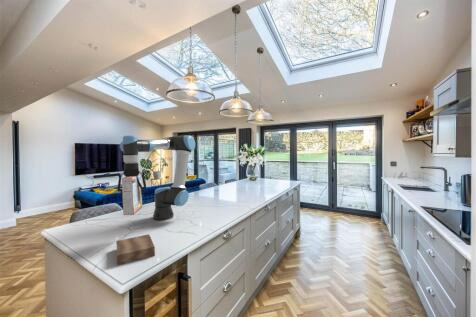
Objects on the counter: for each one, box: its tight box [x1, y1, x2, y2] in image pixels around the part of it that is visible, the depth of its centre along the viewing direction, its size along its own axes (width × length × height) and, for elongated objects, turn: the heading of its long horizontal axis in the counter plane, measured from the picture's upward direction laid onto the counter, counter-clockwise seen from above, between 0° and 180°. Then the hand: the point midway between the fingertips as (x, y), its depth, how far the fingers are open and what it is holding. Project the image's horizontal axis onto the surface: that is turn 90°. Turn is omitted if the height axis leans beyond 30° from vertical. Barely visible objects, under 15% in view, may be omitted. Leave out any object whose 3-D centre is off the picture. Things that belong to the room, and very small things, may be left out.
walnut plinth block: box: [116, 233, 156, 266], centre depth 106 cm, size 16×18×5 cm
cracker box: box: [121, 174, 143, 216], centre depth 121 cm, size 14×6×21 cm, turn 7°
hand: (132, 201), depth 121 cm, fingers closed on cracker box, 8 cm apart
